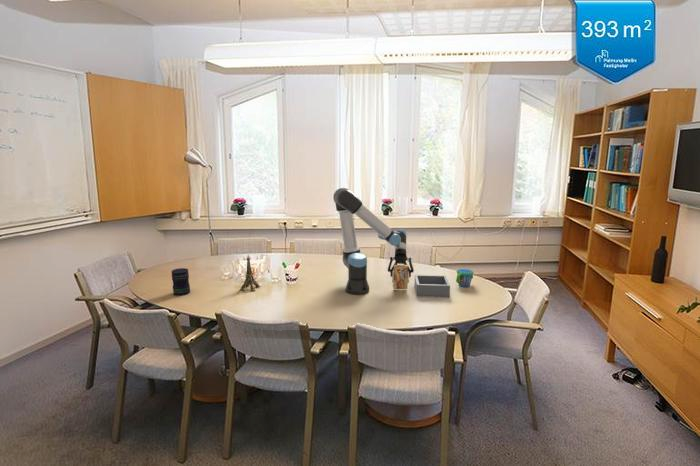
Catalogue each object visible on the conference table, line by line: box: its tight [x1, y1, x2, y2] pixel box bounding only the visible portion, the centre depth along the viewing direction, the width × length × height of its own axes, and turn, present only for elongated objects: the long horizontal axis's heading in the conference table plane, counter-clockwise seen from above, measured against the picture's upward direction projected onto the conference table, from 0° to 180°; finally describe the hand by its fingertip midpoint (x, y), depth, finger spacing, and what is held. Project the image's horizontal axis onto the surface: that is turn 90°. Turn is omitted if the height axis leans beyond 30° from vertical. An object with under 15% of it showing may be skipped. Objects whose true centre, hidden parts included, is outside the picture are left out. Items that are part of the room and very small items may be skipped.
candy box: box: [392, 264, 409, 290], centre depth 263 cm, size 9×4×15 cm, turn 92°
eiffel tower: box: [238, 255, 262, 293], centre depth 265 cm, size 11×11×25 cm
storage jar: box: [171, 267, 191, 297], centre depth 258 cm, size 10×10×15 cm
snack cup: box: [455, 268, 474, 288], centre depth 273 cm, size 16×10×10 cm
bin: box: [413, 274, 451, 298], centre depth 262 cm, size 20×20×8 cm
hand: (400, 281), depth 260 cm, fingers closed on candy box, 9 cm apart
